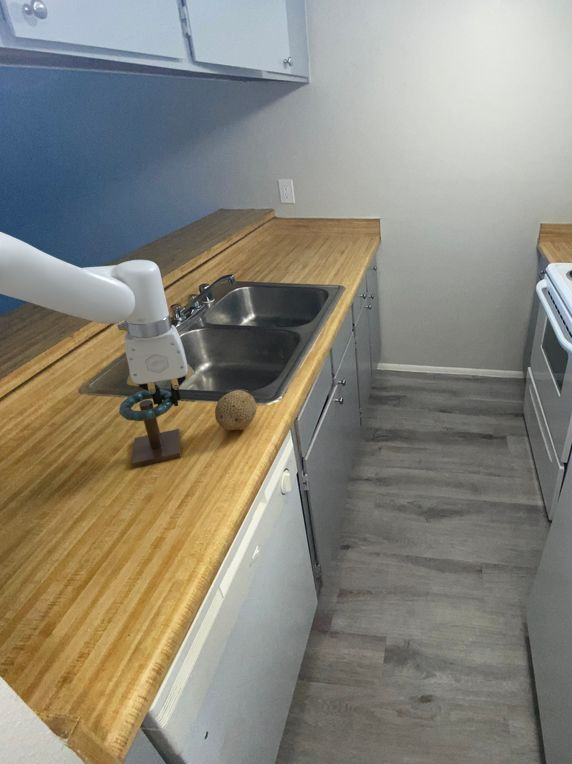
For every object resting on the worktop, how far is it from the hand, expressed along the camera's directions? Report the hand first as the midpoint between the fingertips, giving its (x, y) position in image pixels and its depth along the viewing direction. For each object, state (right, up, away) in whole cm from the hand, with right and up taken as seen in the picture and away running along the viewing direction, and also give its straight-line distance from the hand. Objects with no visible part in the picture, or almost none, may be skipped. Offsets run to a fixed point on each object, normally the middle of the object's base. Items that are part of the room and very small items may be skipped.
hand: (168, 403), depth 99 cm
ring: (-4, 0, -2) cm, 4 cm away
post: (-4, -10, +4) cm, 12 cm away
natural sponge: (+11, -7, +11) cm, 17 cm away
